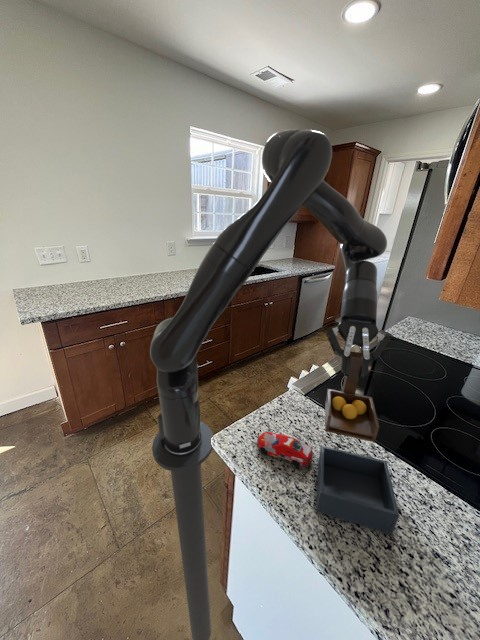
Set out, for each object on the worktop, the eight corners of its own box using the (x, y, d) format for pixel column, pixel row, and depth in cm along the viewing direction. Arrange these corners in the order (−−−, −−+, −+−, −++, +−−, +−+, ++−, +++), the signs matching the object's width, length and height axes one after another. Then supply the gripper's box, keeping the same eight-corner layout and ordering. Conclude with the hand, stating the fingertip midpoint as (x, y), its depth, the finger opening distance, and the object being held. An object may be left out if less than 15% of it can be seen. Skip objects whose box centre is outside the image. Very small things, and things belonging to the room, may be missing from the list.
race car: (253, 450, 64) (253, 438, 62) (262, 434, 69) (262, 423, 67) (307, 473, 59) (309, 460, 57) (313, 454, 63) (315, 442, 62)
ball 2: (342, 416, 54) (343, 401, 55) (340, 418, 56) (341, 404, 58) (358, 419, 53) (359, 404, 54) (355, 421, 56) (356, 407, 57)
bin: (316, 511, 51) (320, 492, 49) (318, 462, 61) (321, 445, 59) (391, 534, 48) (399, 515, 46) (380, 479, 58) (386, 461, 56)
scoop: (325, 396, 63) (333, 348, 58) (366, 404, 61) (379, 355, 56) (325, 431, 53) (335, 377, 48) (374, 442, 51) (391, 387, 46)
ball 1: (331, 411, 57) (332, 400, 56) (330, 403, 60) (332, 392, 59) (345, 414, 57) (347, 403, 56) (344, 406, 59) (346, 395, 58)
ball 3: (350, 416, 56) (353, 404, 55) (349, 407, 59) (351, 396, 58) (365, 419, 56) (368, 407, 55) (363, 410, 58) (366, 398, 57)
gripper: (329, 292, 60) (321, 366, 54) (397, 299, 57) (396, 379, 51) (326, 307, 67) (318, 374, 61) (386, 313, 63) (384, 385, 57)
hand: (354, 376), depth 56 cm, fingers closed on scoop, 2 cm apart
